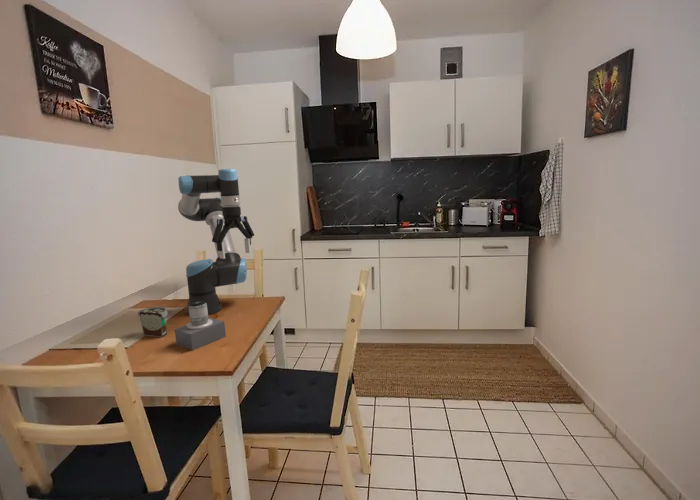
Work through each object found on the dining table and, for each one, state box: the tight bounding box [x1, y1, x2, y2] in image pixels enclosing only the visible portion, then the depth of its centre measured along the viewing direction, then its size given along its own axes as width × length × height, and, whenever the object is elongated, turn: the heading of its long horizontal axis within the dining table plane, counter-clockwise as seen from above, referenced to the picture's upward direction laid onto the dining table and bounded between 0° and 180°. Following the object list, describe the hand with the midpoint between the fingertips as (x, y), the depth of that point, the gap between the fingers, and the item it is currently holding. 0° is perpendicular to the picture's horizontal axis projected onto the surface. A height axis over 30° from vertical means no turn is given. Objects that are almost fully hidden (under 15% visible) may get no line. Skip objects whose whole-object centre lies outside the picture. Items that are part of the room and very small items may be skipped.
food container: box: [137, 306, 169, 338], centre depth 149 cm, size 12×6×10 cm, turn 71°
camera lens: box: [188, 301, 209, 326], centre depth 138 cm, size 6×6×8 cm
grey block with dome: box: [174, 316, 227, 351], centre depth 140 cm, size 11×14×7 cm
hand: (235, 255), depth 163 cm, fingers open, 13 cm apart
